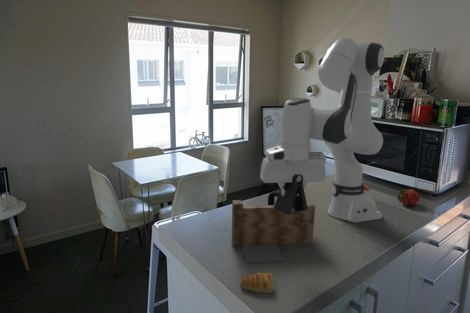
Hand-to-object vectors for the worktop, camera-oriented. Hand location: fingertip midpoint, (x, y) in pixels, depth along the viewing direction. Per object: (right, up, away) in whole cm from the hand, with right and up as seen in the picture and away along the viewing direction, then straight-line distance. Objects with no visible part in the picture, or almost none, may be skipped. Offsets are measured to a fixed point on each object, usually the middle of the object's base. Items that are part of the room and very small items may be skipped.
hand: (291, 195), depth 107 cm
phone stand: (0, -5, +1) cm, 5 cm away
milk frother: (0, -16, +27) cm, 31 cm away
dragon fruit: (+65, -11, +55) cm, 86 cm away
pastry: (-11, -25, -11) cm, 29 cm away
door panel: (-4, -19, +14) cm, 24 cm away
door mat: (-9, -20, +7) cm, 23 cm away
